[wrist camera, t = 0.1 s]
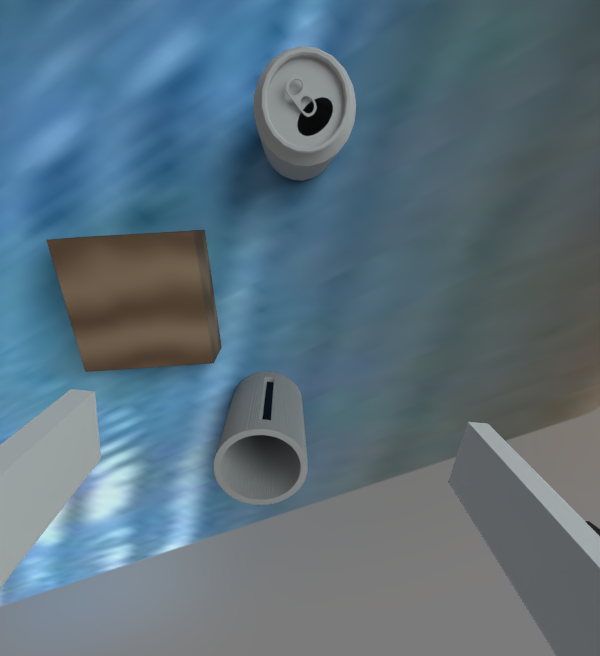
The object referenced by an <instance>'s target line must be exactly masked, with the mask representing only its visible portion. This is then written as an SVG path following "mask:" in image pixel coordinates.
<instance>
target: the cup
mask: <svg viewBox="0 0 600 656" xmlns="http://www.w3.org/2000/svg"><path fill="white" fill-rule="evenodd" d="M267 382H274V386H273V399H272V412H271V420H262V418H263V410H264V401H265V393H266V385H267ZM213 468H214V474H215V478H216V480H217V482H218V484H219V485H220V487H221V488H222V489H223V490H224V491H225V492H226V493H227V494H229V495H230V496H231V497H233V498H234V499H237V500H239V501H242V502H244V503H249V504H256V505H266V504H272V503H277V502H280V501H283V500H285V499H286V498H288V497H290V496H291V495H293V494H294V493H295V492H296V491H297V490H298V489H299V488H300V487H301V485H302V484H303V483H304V480H305V478H306V475H307V469H308V463H307V452H306V441H305V430H304V418H303V407H302V397H301V393H300V391H299V389H298V387H297V386H296V384H295V383H294V382H293V381H292V380H291V379H289V378H288V377H287V376H285V375H283V374H280V373H276V372H269V371H268V372H267V371H266V372H259V373H255V374H252V375H250V376H248V377H247V378H245V379H244V380H243V381H242V382H241V383H240V384H239V385H238V386H237V388H236V390H235V392H234V395H233V398H232V402H231V405H230V408H229V412H228V415H227V418H226V422H225V425H224V428H223V432H222V435H221V438H220V442H219V445H218V448H217V452H216V455H215V458H214V466H213Z"/></svg>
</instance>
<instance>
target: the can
mask: <svg viewBox="0 0 600 656" xmlns="http://www.w3.org/2000/svg"><path fill="white" fill-rule="evenodd" d="M355 111H356V101H355V95H354V89H353V85H352V83H351V81H350V79H349V76H348V74H347V72H346V70H345V69H344V68H343V66H342V65H341V64H340V63H339V62H338V61H337V60H336V59H335V58H334V57H333V56H332V55H330V54H328V53H326V52H324V51H322V50H320V49H318V48H312V47H302V46H300V47H296V48H293V49H289V50H286V51H283V52H282V53H281V54H279V55H278V56H277V57H275V58H274V59H273V60H271V61H270V62H269V64H268V65H267V67H266V68H265V70H264V71H263V73H262V74H261V76H260V77H259V80H258V84H257V87H256V90H255V94H254V117H255V121H256V125H257V129H258V133H259V136H260V139H261V142H262V145H263V149H264V152H265V155H266V157H267V159H268V161H269V162H270V164H271V166H272V167H273V168H274V169H275V170H276V171H277V172H278V173H279V174H281V175H282V176H284V177H287V178H289V179H291V180H301V181H304V180H307V179H311V178H314V177H316V176H317V175H319V174H320V173H322V172H323V171H324V170H325V169H326V167H327V166H328V165H329V163H330V162H331V161H332V160H333V158H334V157H335V156H336V154H337V153H338V152H339V150H340V149H341V148H342V146H343V145H344V144H345V143H346V141H347V140H348V138H349V135H350V133H351V130H352V127H353V125H354V121H355Z"/></svg>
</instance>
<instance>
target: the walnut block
mask: <svg viewBox="0 0 600 656" xmlns="http://www.w3.org/2000/svg"><path fill="white" fill-rule="evenodd" d="M47 243H48V247H49V250H50V253H51V257H52V260H53V263H54V267H55V270H56V274H57V277H58V280H59V284H60V287H61V291H62V294H63V297H64V301H65V304H66V307H67V311H68V314H69V318H70V321H71V324H72V328H73V331H74V334H75V338H76V341H77V345H78V348H79V351H80V355H81V358H82V361H83V365H84V368H85V372H88V371H103V370H118V369H133V368H148V367H163V366H178V365H193V364H208V363H214V361H215V359H216V357H217V355H218V353H219V351H220V349H221V341H220V334H219V327H218V320H217V313H216V306H215V299H214V292H213V285H212V278H211V271H210V264H209V257H208V250H207V243H206V236H205V230H196V231H179V232H162V233H145V234H127V235H110V236H93V237H76V238H63V239H51V240H47Z"/></svg>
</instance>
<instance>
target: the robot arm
mask: <svg viewBox="0 0 600 656" xmlns="http://www.w3.org/2000/svg"><path fill="white" fill-rule="evenodd" d="M100 459H101V454H100V443H99V431H98V420H97V409H96V398H95V391H86V390H74V389H71V390H69V391H68V392H67V393H66V394H64V395H63V396H62V397H60V398H59V399H58V400H57V401H55V402H54V403H53V404H52V405H50V406H49V407H48V408H46V409H45V410H44V411H43V412H41V413H40V414H39V415H38V416H36V417H35V418H34V419H32V420H31V421H30V422H29V423H27V424H26V425H25V426H23V427H22V428H21V429H20V430H18V431H17V432H16V433H15V434H13V435H12V436H11V437H9V438H8V439H7V440H6V441H4V442H3V443H2V444H1V445H0V588H1V586H2V585H3V584H4V582H5V581H6V580H7V579H8V577H9V576H10V575H11V573H12V572H13V571H14V570H15V568H16V567H17V566H18V564H19V563H20V562H21V561H22V559H23V558H24V557H25V555H26V554H27V553H28V552H29V550H30V549H31V548H32V546H33V545H34V544H35V543H36V541H37V540H38V539H39V537H40V536H41V535H42V534H43V532H44V531H45V530H46V528H47V527H48V526H49V525H50V523H51V522H52V521H53V519H54V518H55V517H56V516H57V514H58V513H59V512H60V510H61V509H62V508H63V507H64V505H65V504H66V503H67V501H68V500H69V499H70V498H71V496H72V495H73V494H74V492H75V491H76V490H77V489H78V487H79V486H80V485H81V483H82V482H83V481H84V480H85V478H86V477H87V476H88V474H89V473H90V472H91V471H92V469H93V468H94V467H95V465H96V464H97V463H98V462H99V460H100ZM448 482H449V483H450V485H451V487H452V489H453V490H454V492H455V494H456V495H457V497H458V498H459V500H460V502H461V503H462V505H463V506H464V508H465V510H466V511H467V513H468V514H469V516H470V517H471V519H472V521H473V523H474V524H475V526H476V527H477V529H478V531H479V532H480V534H481V535H482V537H483V539H484V540H485V542H486V543H487V545H488V546H489V548H490V550H491V552H492V553H493V555H494V556H495V558H496V560H497V561H498V563H499V564H500V566H501V568H502V569H503V571H504V572H505V574H506V576H507V577H508V579H509V580H510V582H511V584H512V585H513V587H514V589H515V590H516V592H517V593H518V595H519V597H520V598H521V600H522V601H523V603H524V605H525V606H526V608H527V610H528V611H529V613H530V614H531V616H532V617H533V619H534V621H535V622H536V624H537V626H538V627H539V629H540V630H541V632H542V634H543V635H544V637H545V638H546V640H547V642H548V643H549V645H550V646H551V648H552V650H553V651H554V653H555V654H556V656H600V529H599V528H597V527H596V526H594V525H593V524H592V523H591V522H589V521H584V520H583V519H582V518H581V517H580V516H579V515H578V514H577V513H576V512H575V511H574V510H573V509H572V508H571V507H570V506H569V505H568V504H567V503H566V502H565V501H564V500H563V499H562V498H561V497H560V496H559V495H558V494H557V493H556V492H555V491H554V490H553V489H552V488H551V487H550V486H549V485H548V484H547V483H546V482H545V481H544V480H543V479H542V478H541V477H540V476H539V475H538V474H537V473H536V472H535V471H534V470H533V469H532V468H531V467H530V466H529V465H528V464H527V463H526V462H525V461H524V460H523V459H522V458H521V456H520V455H518V454H517V453H516V452H515V450H514V449H512V448H511V446H510V445H508V443H507V442H506V441H505V440H504V439H503V438H502V437H501V436H500V435H499V434H498V433H497V432H496V431H495V430H494V429H493V428H492V427H491V426H490V425H489V424H486V423H474V422H468V424H467V427H466V430H465V433H464V436H463V439H462V442H461V445H460V448H459V451H458V454H457V457H456V460H455V463H454V466H453V469H452V473H451V475H450V478H449V481H448Z"/></svg>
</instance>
